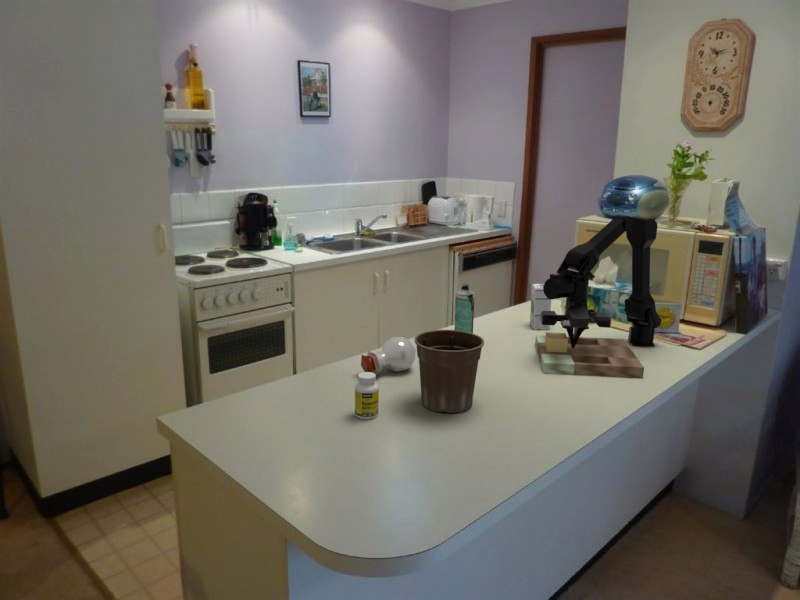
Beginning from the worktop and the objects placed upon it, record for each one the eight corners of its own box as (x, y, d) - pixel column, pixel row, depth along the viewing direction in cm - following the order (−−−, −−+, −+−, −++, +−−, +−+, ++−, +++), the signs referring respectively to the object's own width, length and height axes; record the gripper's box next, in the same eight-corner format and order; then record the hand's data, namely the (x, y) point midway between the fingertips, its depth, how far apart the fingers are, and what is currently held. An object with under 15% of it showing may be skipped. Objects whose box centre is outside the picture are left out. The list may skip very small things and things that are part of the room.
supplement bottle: (360, 422, 138) (360, 381, 136) (351, 412, 143) (350, 372, 140) (382, 417, 141) (382, 376, 138) (372, 408, 145) (372, 368, 143)
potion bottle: (417, 372, 171) (371, 389, 164) (399, 345, 176) (354, 361, 168) (427, 352, 165) (379, 370, 157) (408, 325, 169) (361, 341, 162)
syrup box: (549, 330, 205) (553, 287, 201) (532, 329, 205) (534, 287, 201) (546, 325, 210) (549, 283, 207) (528, 324, 211) (531, 283, 207)
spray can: (475, 348, 186) (478, 284, 181) (467, 353, 182) (469, 287, 177) (458, 345, 189) (461, 281, 184) (450, 350, 185) (452, 285, 180)
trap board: (622, 348, 188) (623, 339, 187) (642, 378, 165) (644, 367, 164) (535, 344, 191) (535, 335, 190) (543, 373, 168) (544, 362, 167)
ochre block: (564, 346, 180) (565, 333, 179) (566, 352, 175) (568, 339, 174) (544, 345, 181) (545, 332, 180) (547, 351, 176) (548, 338, 175)
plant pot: (444, 384, 160) (446, 324, 155) (495, 403, 148) (498, 339, 144) (399, 402, 149) (400, 338, 144) (450, 424, 137) (452, 356, 133)
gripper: (546, 301, 167) (542, 355, 171) (617, 303, 165) (612, 358, 169) (541, 291, 177) (538, 342, 181) (609, 293, 175) (604, 345, 179)
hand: (572, 347), depth 177 cm, fingers closed
